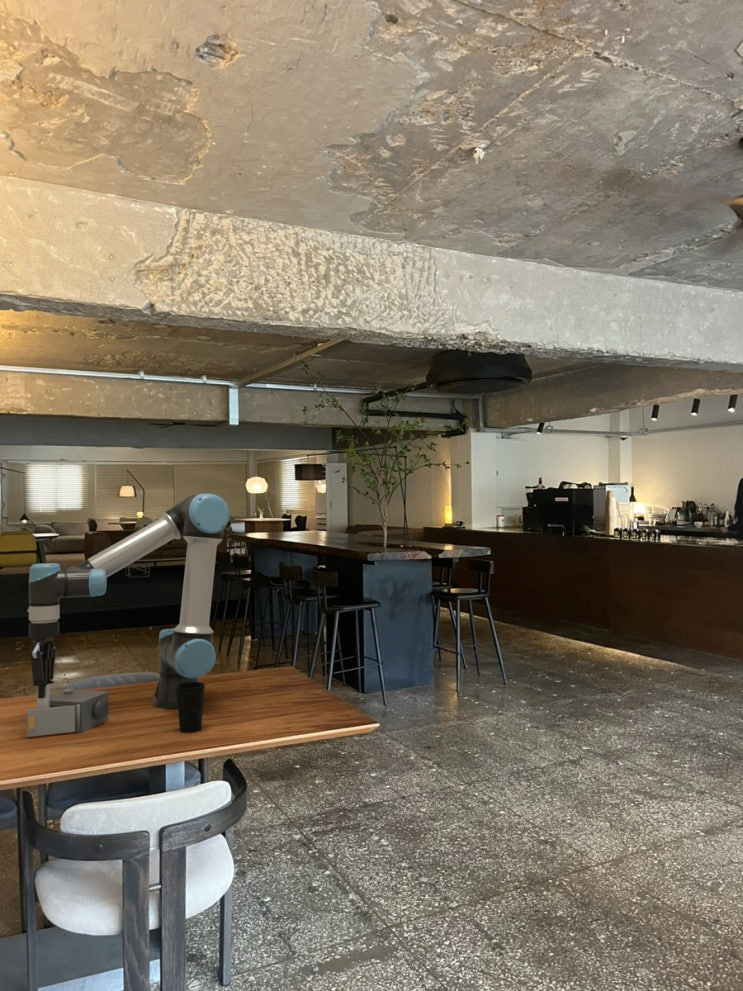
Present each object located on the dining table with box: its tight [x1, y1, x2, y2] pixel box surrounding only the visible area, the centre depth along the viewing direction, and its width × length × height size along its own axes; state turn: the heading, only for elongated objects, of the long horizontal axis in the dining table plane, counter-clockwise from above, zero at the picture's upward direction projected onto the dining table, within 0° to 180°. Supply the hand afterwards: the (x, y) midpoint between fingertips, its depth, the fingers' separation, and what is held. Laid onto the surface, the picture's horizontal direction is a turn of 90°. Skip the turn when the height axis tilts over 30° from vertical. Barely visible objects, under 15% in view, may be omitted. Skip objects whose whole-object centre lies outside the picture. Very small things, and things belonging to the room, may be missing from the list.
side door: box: [26, 705, 76, 738], centre depth 191 cm, size 12×1×7 cm, turn 111°
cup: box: [176, 681, 206, 734], centre depth 195 cm, size 8×8×12 cm
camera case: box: [50, 688, 109, 733], centre depth 201 cm, size 16×13×9 cm
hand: (43, 709), depth 193 cm, fingers closed
